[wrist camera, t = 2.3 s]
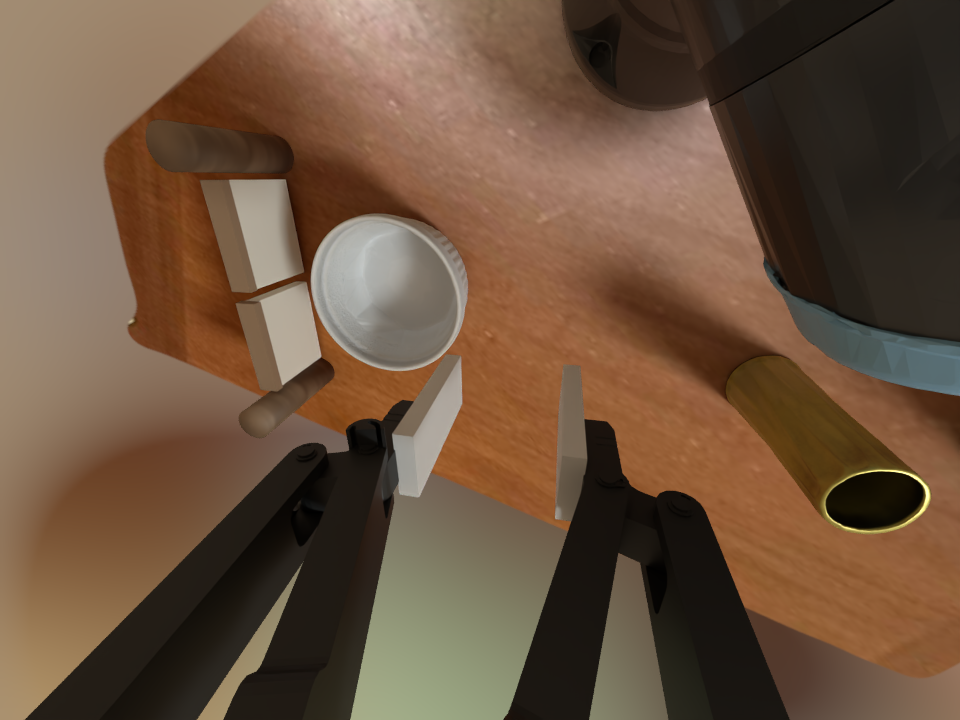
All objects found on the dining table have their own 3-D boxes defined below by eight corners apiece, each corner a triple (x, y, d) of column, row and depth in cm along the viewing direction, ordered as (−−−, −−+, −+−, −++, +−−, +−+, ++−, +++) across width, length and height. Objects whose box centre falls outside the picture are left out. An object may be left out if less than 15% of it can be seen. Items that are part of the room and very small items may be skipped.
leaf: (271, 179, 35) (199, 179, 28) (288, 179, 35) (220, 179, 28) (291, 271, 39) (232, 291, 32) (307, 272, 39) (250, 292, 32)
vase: (718, 366, 35) (804, 473, 22) (796, 345, 33) (941, 450, 20) (732, 420, 37) (818, 546, 24) (807, 403, 35) (945, 532, 22)
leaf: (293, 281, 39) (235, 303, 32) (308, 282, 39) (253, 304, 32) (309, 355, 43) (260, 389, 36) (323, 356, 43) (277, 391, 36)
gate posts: (260, 136, 34) (138, 120, 25) (289, 135, 34) (177, 118, 24) (313, 380, 45) (243, 436, 35) (336, 382, 45) (272, 439, 35)
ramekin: (507, 282, 35) (495, 304, 29) (423, 366, 41) (398, 399, 35) (401, 174, 33) (363, 174, 27) (327, 279, 39) (283, 298, 33)
